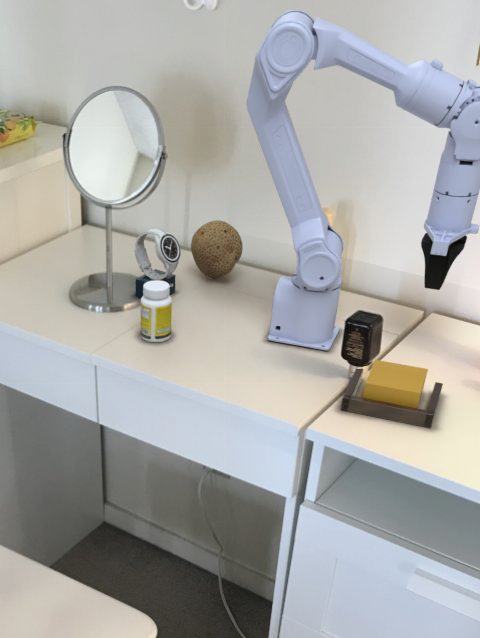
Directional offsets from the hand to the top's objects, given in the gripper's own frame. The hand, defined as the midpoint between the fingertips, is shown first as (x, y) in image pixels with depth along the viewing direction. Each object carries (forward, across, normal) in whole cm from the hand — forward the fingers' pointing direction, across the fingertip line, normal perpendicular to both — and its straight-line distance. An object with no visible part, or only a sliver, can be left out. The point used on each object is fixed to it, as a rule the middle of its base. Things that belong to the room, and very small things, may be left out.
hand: (432, 287), depth 117 cm
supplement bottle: (+10, -12, +38) cm, 41 cm away
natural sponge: (+10, +14, +37) cm, 41 cm away
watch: (+10, +3, +44) cm, 45 cm away
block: (+9, -18, +1) cm, 20 cm away
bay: (+9, -18, +1) cm, 20 cm away
